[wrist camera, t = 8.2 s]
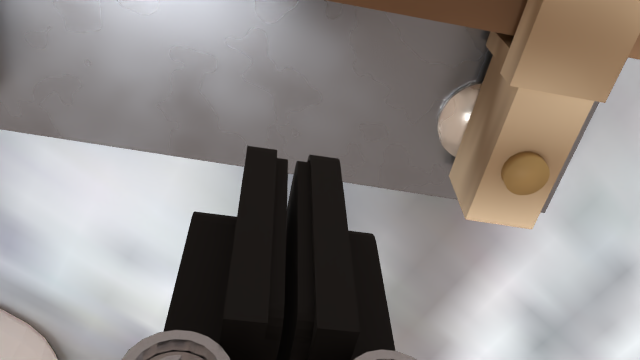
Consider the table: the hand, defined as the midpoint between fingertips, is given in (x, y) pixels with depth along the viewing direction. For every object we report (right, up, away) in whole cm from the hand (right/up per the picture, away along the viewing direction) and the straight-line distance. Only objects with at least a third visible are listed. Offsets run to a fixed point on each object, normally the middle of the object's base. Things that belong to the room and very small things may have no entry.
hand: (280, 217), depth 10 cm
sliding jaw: (+8, +5, +9) cm, 13 cm away
